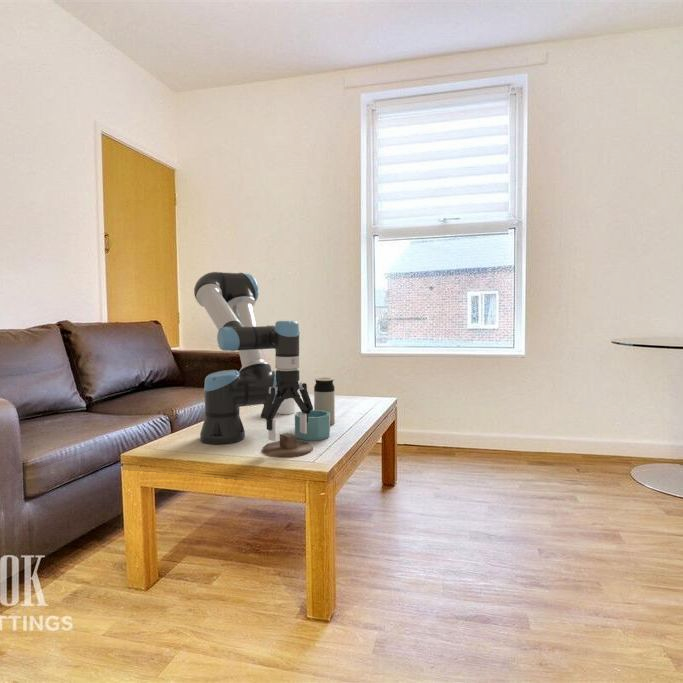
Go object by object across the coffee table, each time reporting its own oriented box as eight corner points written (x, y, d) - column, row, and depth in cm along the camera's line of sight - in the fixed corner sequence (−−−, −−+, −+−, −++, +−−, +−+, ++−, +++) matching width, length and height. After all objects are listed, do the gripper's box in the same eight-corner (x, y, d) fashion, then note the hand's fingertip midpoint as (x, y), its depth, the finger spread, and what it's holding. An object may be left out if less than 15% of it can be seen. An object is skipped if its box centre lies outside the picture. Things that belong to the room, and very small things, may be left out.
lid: (253, 450, 152) (253, 434, 152) (293, 440, 163) (293, 426, 162) (282, 462, 140) (282, 445, 140) (323, 451, 151) (323, 435, 151)
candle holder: (298, 409, 211) (298, 383, 210) (295, 414, 201) (295, 387, 200) (276, 409, 211) (276, 383, 210) (272, 414, 201) (272, 386, 201)
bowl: (289, 435, 168) (288, 413, 167) (315, 429, 176) (314, 408, 175) (310, 442, 159) (310, 419, 158) (336, 436, 167) (336, 414, 167)
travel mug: (334, 426, 182) (334, 379, 180) (313, 426, 182) (313, 379, 181) (334, 421, 190) (334, 376, 188) (315, 421, 190) (314, 376, 189)
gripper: (262, 374, 139) (263, 446, 140) (323, 367, 155) (324, 431, 157) (248, 371, 144) (249, 441, 146) (309, 365, 161) (309, 427, 162)
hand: (288, 436), depth 151 cm, fingers open, 12 cm apart
